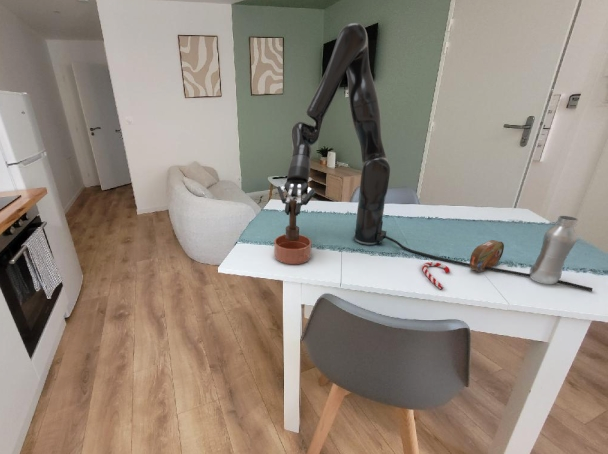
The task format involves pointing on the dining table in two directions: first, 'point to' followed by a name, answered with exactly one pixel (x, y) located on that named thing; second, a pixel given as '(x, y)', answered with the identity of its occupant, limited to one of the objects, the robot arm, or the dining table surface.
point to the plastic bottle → (554, 251)
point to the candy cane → (431, 275)
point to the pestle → (292, 223)
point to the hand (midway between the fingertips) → (291, 214)
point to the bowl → (292, 249)
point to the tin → (486, 255)
